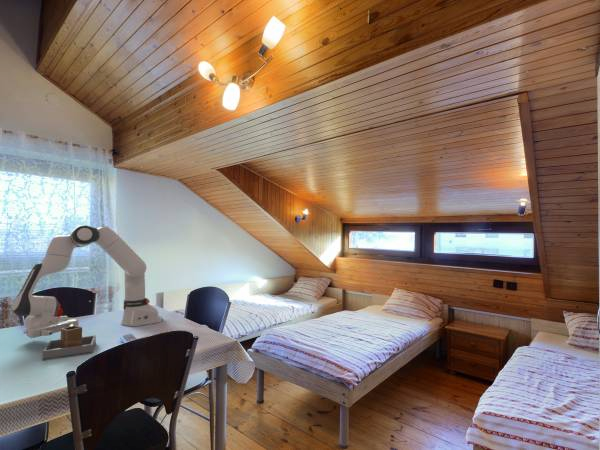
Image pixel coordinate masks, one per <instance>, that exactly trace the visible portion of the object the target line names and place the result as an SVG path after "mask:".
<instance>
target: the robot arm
mask: <svg viewBox="0 0 600 450" xmlns="http://www.w3.org/2000/svg"><path fill="white" fill-rule="evenodd" d="M92 243H93V244H97V245H98V246H99V247H100V248H101V249H102V250H103V251H104V252H105V253H106V254H107V255H108V256H109V257H110V258H111V259H112V260H114V262H115V263H116V264H117V265H118V266H119V267H120V268H121V269H122V270H123V272H124V299H123V302H122V303H123V305H122V306H123V313H122V320H121V323H120V324H121V325H122V326H127V327H128V326H129V327H138V326H139V327H140V326H145V325H151V324H157V323H161V322H162V321H163V316H161V315H159V312H158V310H157V308H156V307H154V306H152V305H151V304H150V299H149V298H148V297H146V279H145V277H146V275H145V273H146V271H147V264H146V262H145V261H144V260H143V259H142V258H141V257H140V256H139V255H138V253H136V252H135V250H133V249H132V247H130V246H129V245H128V244H127V242H125V240H124V239H123V238H121V237H120V235H119V234H117V233H116V232H115V231H114V230H113V229H112V228H110V227H108V226H105V225H104V226H100V227H98V228H96V227H93V226H91V225H90V226H89V225H85V224H84V225H83V224H82V225H77V226H76V227H75V228H74V229H73V230H72V231H71V232H70V233H69V234H68V235H63V234H62V235H61V234H60V235H56V236H55V235H54V237H53V238H52V239H51V240H50V243H49V244H48V247H47V250H46V253H45V255H44V257H43V259H42V260H41V261H40V262H37V263H36V264H35V265H34V266H32V269H31V270H30V272H29V274H28V275H27V278H26V279H25V281H24V283H23V286H22V287H21V289H20V291H19V292H18V294H17V295H16V297H15V298H14V300H13V302H12V304H11V311H12V313H13V314H14V315H15V316H17V317H25V318H24V321H23V324H24V327H25V328H26V329H25V330H23V331H22V334H24V335H26V336H27V337H28V338H30V339H36V338H38V337H45V336H51V335H53V334H56V333H59V332H60V333H61V328H66V327H70V326H74V325H76V326H79V323H80V322H79V320H78V319H77V318H74V317H69V316H67V315H61V316H58V317H55V316H56V314H57V312H58V309H59V304H60V302H59V301H58V298H56V297H55V296H49V295H48V296H47V295H33V293H34V291H35V289H36V287H37V285H38V283H39V280H40V279H42V278H43V277H45V276H48V275H52V274H57V273H60V272H63V271H65V270H66V269H67V268H68V267H69V266H70V263H71V259H72V255H73V251H74V249H77V248H83V247H87V246H89V245H91V244H92Z"/></svg>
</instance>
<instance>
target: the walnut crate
mask: <svg viewBox="0 0 600 450" xmlns="http://www.w3.org/2000/svg"><path fill="white" fill-rule="evenodd" d="M82 337H83V327H82V326H80V325H78V326H76V325H74V326H70V327H66V328H61V331H60V340H61V348H66V347H74V346H81V345H82Z"/></svg>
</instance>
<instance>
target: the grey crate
mask: <svg viewBox="0 0 600 450" xmlns="http://www.w3.org/2000/svg"><path fill="white" fill-rule="evenodd" d="M96 337H97V334H96V335H86V336H82V345H81V346H74V347H66V348H61V339H56V340H55V339H54V340H50V341H49V342H48V343H47V345H46V346H45V347H44V349H42V361H48V360H56V359H63V358H70V357H77V356H83V355H90V354H93V352H94V349H95V347H96V344H97V343H96V342H97V338H96Z"/></svg>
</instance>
